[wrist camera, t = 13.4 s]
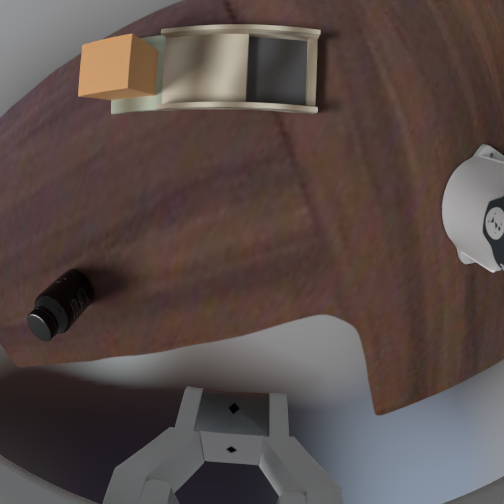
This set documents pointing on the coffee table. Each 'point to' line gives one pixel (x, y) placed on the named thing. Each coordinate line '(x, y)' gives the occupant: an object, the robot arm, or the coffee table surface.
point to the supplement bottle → (60, 305)
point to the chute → (232, 69)
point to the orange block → (118, 68)
